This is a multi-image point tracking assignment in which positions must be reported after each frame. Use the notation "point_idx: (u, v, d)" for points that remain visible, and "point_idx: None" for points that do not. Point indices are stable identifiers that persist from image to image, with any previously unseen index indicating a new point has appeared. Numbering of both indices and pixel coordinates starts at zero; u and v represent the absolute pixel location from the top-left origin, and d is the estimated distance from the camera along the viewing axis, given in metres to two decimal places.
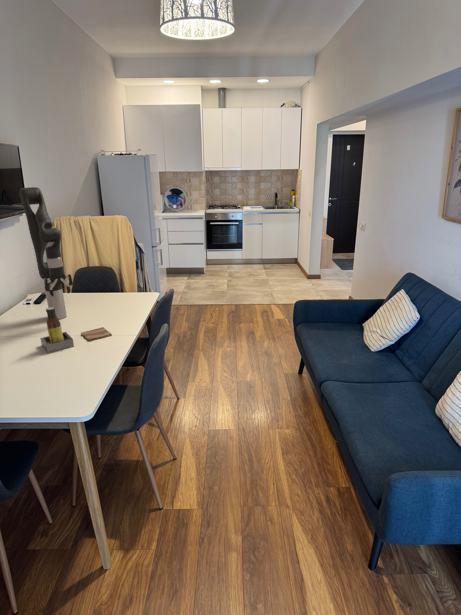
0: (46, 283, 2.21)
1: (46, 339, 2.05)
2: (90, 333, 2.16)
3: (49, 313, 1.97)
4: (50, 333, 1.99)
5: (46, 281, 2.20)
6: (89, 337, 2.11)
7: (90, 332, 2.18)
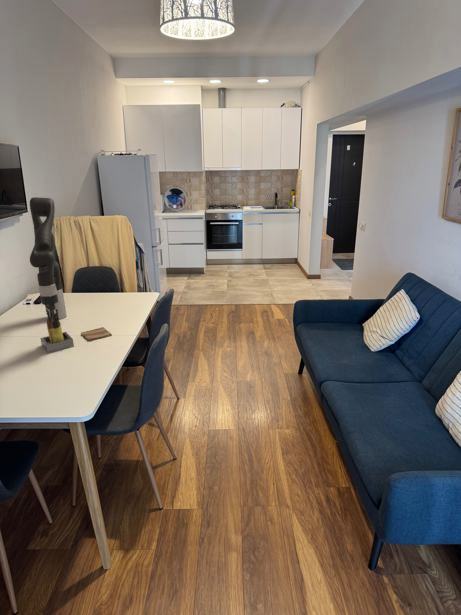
0: (57, 313, 1.95)
1: (46, 339, 2.05)
2: (90, 333, 2.16)
3: None
4: (50, 333, 1.99)
5: None
6: (89, 337, 2.11)
7: (90, 332, 2.18)
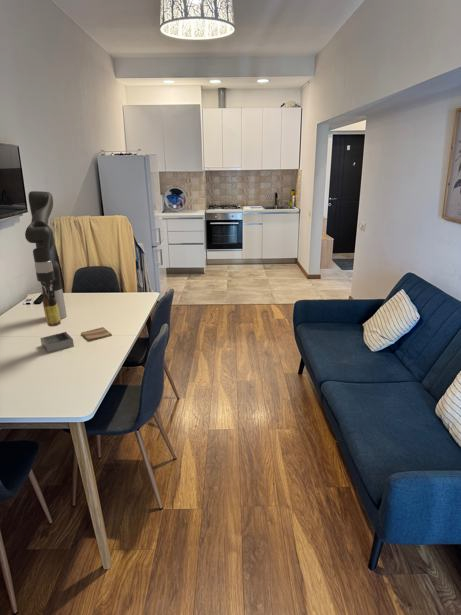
0: (53, 291, 1.91)
1: (46, 339, 2.05)
2: (90, 333, 2.16)
3: None
4: (46, 311, 1.96)
5: None
6: (89, 337, 2.11)
7: (90, 332, 2.18)
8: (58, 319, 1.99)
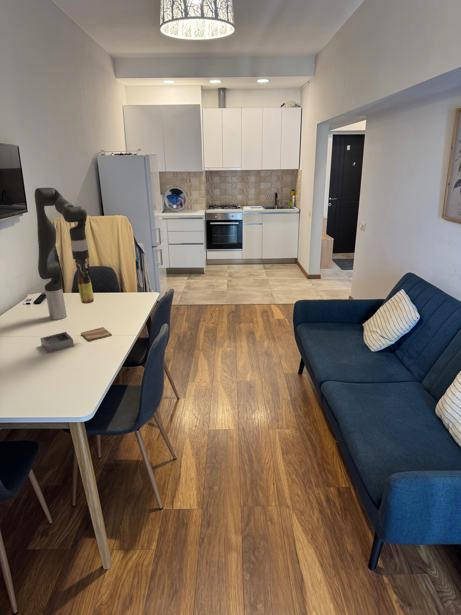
0: None
1: (46, 339, 2.05)
2: (90, 333, 2.16)
3: None
4: (80, 289, 2.04)
5: None
6: (89, 337, 2.11)
7: (90, 332, 2.18)
8: (91, 297, 2.07)
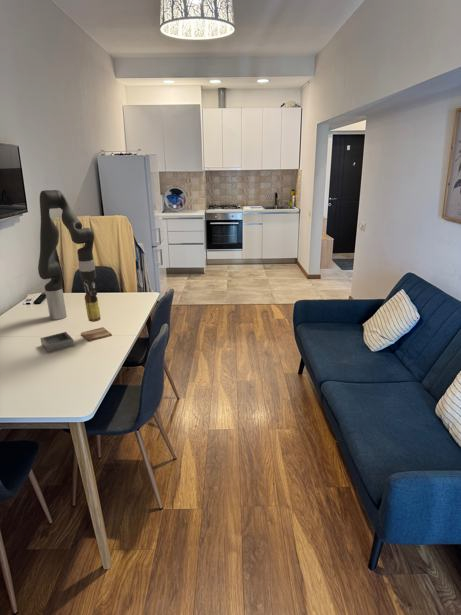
0: None
1: (46, 339, 2.05)
2: (90, 333, 2.16)
3: (87, 288, 2.06)
4: (88, 307, 2.09)
5: None
6: (89, 337, 2.11)
7: (90, 332, 2.18)
8: (98, 315, 2.12)
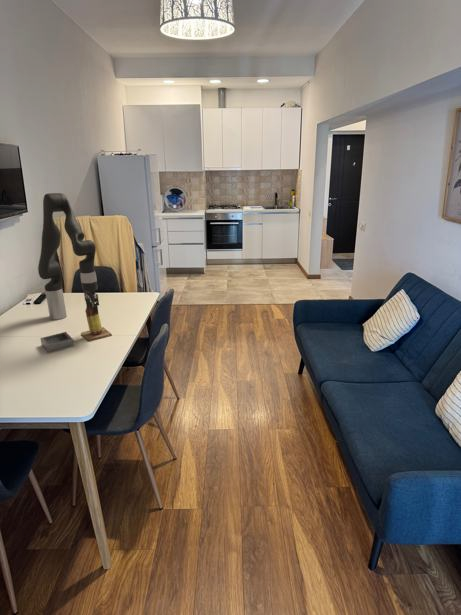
0: None
1: (46, 339, 2.05)
2: (90, 333, 2.16)
3: (88, 302, 2.09)
4: (89, 321, 2.11)
5: None
6: (89, 337, 2.11)
7: None
8: (100, 328, 2.15)
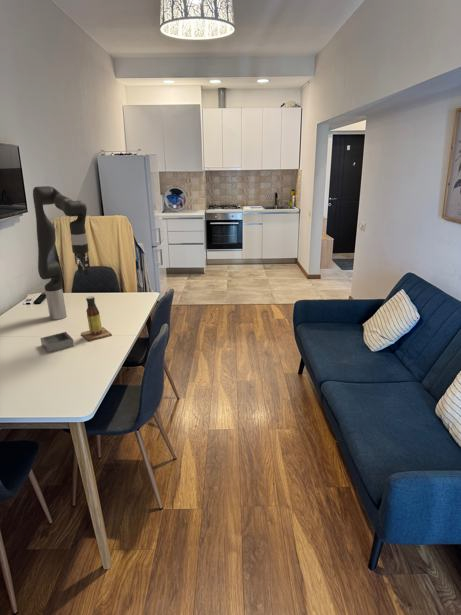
0: None
1: (46, 339, 2.05)
2: (90, 333, 2.16)
3: (89, 302, 2.09)
4: (90, 321, 2.11)
5: None
6: (89, 337, 2.11)
7: None
8: (100, 328, 2.15)
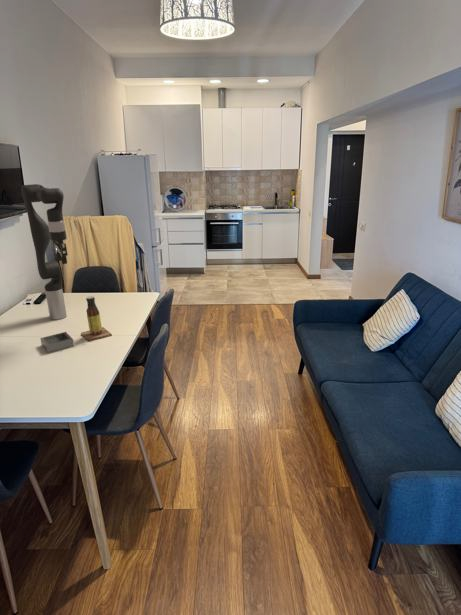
0: None
1: (46, 339, 2.05)
2: (90, 333, 2.16)
3: (89, 302, 2.09)
4: (90, 321, 2.11)
5: None
6: (89, 337, 2.11)
7: None
8: (100, 328, 2.15)
